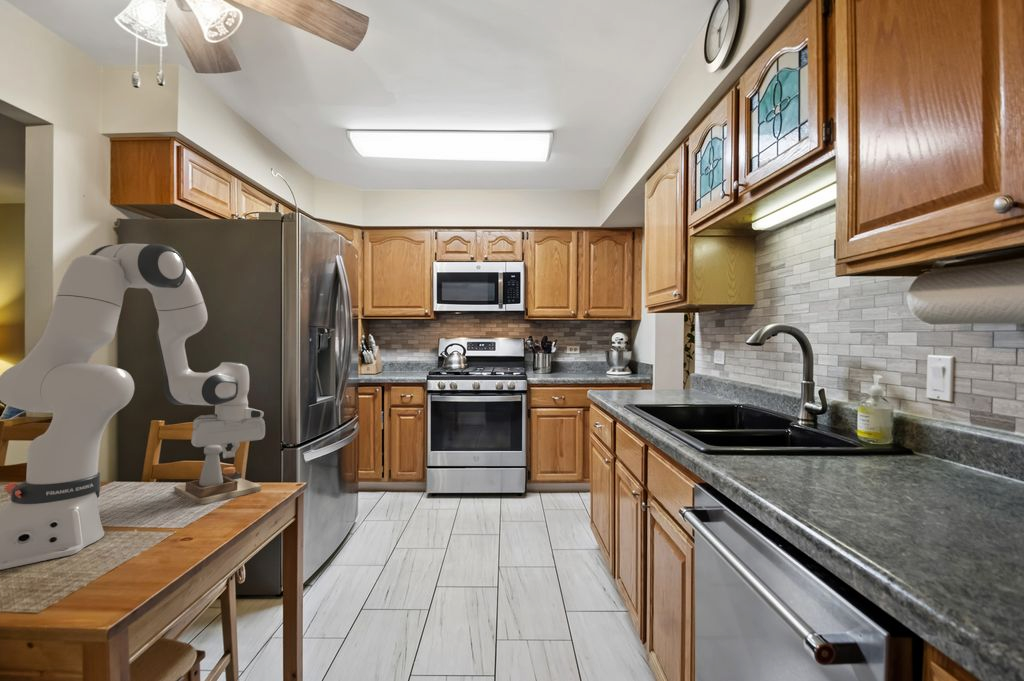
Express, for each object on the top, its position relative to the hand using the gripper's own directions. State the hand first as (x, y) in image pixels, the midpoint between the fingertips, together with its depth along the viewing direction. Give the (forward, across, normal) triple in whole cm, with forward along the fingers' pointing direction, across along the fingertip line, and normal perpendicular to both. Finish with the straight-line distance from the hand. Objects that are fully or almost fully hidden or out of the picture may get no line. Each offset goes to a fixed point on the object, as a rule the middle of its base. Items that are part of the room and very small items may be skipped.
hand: (228, 457), depth 141 cm
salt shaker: (+7, -8, -8) cm, 14 cm away
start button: (+6, +1, 0) cm, 6 cm away
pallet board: (+8, -5, -6) cm, 11 cm away
